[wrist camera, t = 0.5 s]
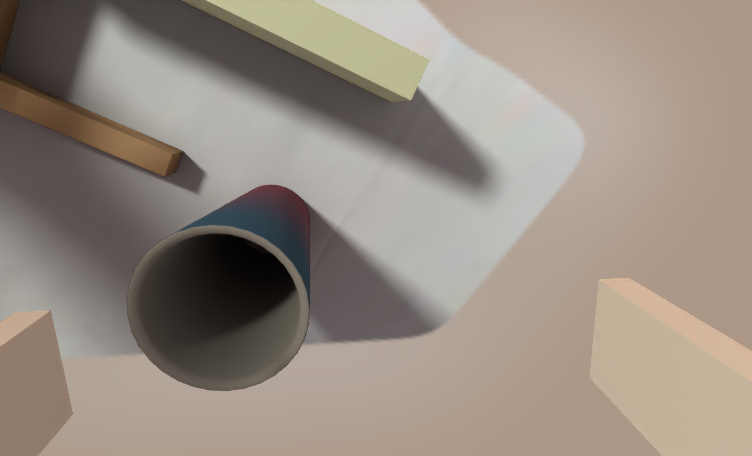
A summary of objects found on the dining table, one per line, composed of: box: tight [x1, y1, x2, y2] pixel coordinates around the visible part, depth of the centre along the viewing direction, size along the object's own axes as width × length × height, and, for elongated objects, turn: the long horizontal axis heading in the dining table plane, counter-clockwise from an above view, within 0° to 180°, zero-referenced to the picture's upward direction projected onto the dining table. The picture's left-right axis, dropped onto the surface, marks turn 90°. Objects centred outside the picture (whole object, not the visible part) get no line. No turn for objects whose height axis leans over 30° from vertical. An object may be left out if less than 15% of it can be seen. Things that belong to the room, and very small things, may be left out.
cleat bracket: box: [0, 0, 183, 176], centre depth 27 cm, size 13×10×5 cm
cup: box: [127, 185, 310, 391], centre depth 25 cm, size 7×7×15 cm
